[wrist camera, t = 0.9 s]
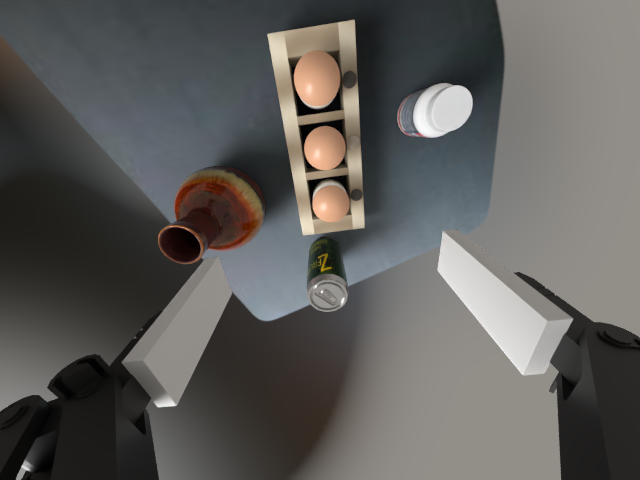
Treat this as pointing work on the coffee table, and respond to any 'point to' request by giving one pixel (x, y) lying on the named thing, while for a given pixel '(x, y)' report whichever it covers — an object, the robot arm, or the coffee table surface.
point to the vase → (213, 214)
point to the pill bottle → (435, 110)
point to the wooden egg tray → (321, 117)
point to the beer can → (326, 276)
